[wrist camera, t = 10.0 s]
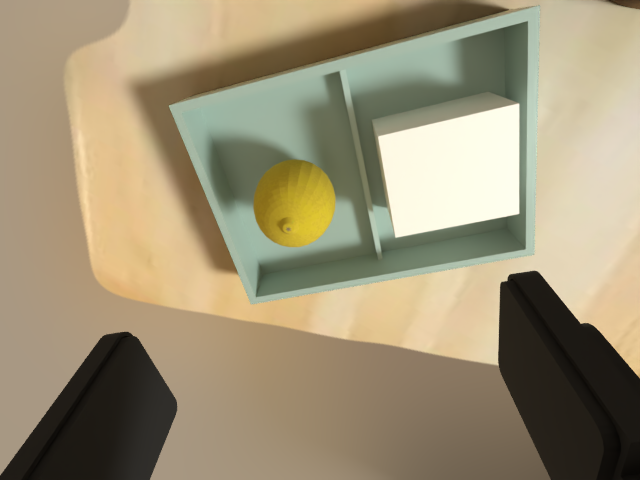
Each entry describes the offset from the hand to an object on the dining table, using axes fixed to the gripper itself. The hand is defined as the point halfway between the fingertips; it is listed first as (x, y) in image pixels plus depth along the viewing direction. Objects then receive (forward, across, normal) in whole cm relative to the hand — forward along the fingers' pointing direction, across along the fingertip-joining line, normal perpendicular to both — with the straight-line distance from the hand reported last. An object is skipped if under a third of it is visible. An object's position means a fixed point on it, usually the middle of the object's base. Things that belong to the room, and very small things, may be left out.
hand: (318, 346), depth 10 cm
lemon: (+21, +3, +3) cm, 21 cm away
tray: (+21, -2, +3) cm, 21 cm away
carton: (+20, -7, +3) cm, 22 cm away
